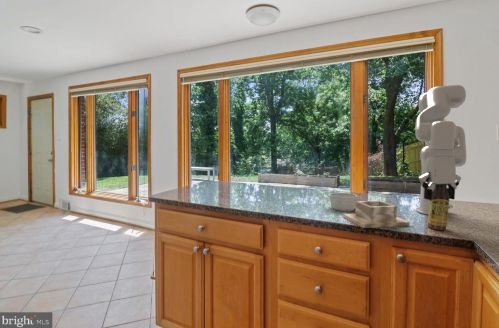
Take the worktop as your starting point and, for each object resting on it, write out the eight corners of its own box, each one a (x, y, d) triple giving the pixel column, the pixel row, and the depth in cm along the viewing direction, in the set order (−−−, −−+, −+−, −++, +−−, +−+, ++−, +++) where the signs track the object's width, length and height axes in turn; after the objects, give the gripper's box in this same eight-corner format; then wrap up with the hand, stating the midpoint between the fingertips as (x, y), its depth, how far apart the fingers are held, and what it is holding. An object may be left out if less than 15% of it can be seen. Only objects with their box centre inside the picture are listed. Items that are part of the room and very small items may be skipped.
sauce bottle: (429, 229, 108) (432, 178, 107) (425, 225, 114) (428, 176, 113) (449, 231, 106) (452, 178, 104) (445, 227, 112) (447, 176, 110)
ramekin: (359, 212, 136) (359, 198, 135) (330, 211, 138) (330, 196, 138) (354, 206, 148) (354, 193, 148) (328, 205, 151) (328, 192, 151)
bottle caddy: (384, 215, 129) (385, 199, 129) (409, 225, 114) (410, 207, 113) (343, 217, 126) (343, 200, 126) (363, 228, 111) (364, 209, 110)
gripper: (452, 154, 113) (450, 196, 114) (413, 153, 110) (411, 197, 111) (470, 154, 105) (467, 200, 106) (428, 154, 103) (426, 201, 104)
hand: (439, 199), depth 109 cm, fingers open, 9 cm apart
